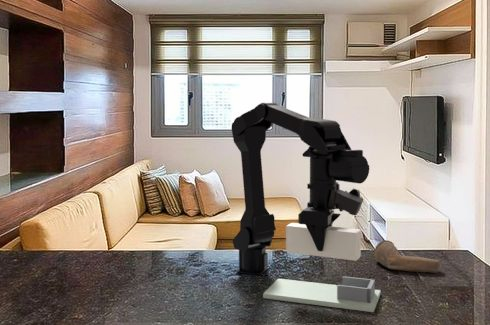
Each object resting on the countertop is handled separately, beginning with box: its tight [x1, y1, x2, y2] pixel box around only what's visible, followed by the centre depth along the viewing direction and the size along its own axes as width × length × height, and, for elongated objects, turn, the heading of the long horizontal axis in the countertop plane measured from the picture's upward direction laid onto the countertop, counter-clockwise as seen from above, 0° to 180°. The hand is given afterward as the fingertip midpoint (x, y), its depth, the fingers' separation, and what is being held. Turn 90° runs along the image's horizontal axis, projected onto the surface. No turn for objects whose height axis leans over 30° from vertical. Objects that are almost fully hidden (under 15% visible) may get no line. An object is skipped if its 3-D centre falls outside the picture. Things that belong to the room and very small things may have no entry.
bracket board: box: [262, 276, 381, 313], centre depth 119 cm, size 24×11×4 cm, turn 69°
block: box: [285, 222, 362, 262], centre depth 118 cm, size 16×4×6 cm, turn 64°
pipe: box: [373, 239, 441, 274], centre depth 139 cm, size 6×17×10 cm
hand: (322, 248), depth 118 cm, fingers closed on block, 4 cm apart
